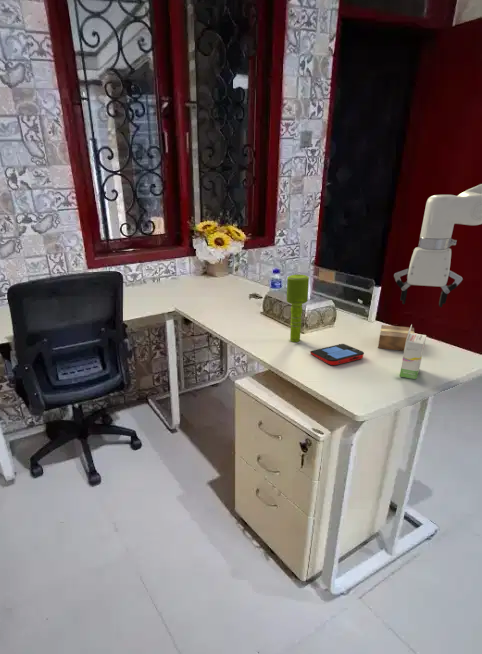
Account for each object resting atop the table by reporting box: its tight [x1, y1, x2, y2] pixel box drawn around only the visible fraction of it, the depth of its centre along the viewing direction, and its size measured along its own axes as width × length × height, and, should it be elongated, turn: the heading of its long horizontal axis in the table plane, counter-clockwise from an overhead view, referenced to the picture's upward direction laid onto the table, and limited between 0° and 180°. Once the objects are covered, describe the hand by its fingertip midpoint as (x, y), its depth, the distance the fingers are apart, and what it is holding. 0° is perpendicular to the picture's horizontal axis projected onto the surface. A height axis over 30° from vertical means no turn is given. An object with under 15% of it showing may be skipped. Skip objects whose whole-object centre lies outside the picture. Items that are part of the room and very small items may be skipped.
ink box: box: [399, 324, 427, 380], centre depth 127 cm, size 9×5×15 cm, turn 148°
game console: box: [309, 343, 365, 366], centre depth 144 cm, size 14×13×2 cm
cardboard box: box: [377, 324, 415, 352], centre depth 150 cm, size 11×11×5 cm
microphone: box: [286, 274, 310, 343], centre depth 154 cm, size 8×8×25 cm
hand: (421, 304), depth 121 cm, fingers open, 9 cm apart
